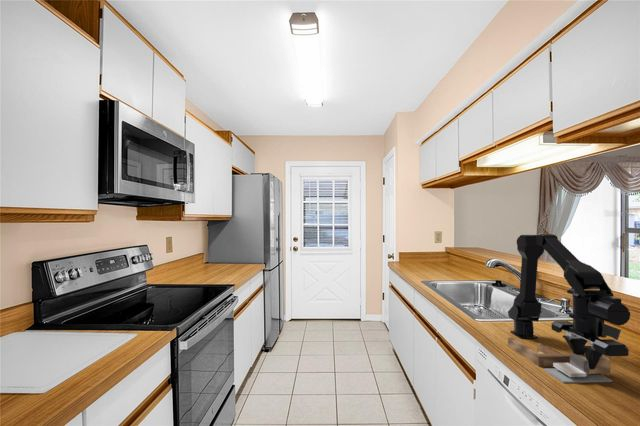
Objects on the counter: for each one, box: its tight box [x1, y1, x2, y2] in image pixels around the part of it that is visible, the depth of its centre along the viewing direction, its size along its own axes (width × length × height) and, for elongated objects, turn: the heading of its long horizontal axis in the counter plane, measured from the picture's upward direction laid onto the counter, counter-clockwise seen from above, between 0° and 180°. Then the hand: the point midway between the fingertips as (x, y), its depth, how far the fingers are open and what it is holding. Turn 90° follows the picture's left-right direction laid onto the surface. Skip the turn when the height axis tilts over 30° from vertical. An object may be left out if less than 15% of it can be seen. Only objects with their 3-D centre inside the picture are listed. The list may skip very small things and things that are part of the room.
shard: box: [535, 341, 562, 354], centre depth 100 cm, size 11×8×2 cm
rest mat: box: [543, 367, 613, 384], centre depth 86 cm, size 7×14×1 cm, turn 91°
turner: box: [552, 353, 612, 377], centre depth 86 cm, size 13×6×4 cm, turn 91°
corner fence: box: [507, 336, 570, 367], centre depth 98 cm, size 14×10×3 cm
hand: (586, 366), depth 86 cm, fingers closed on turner, 3 cm apart
